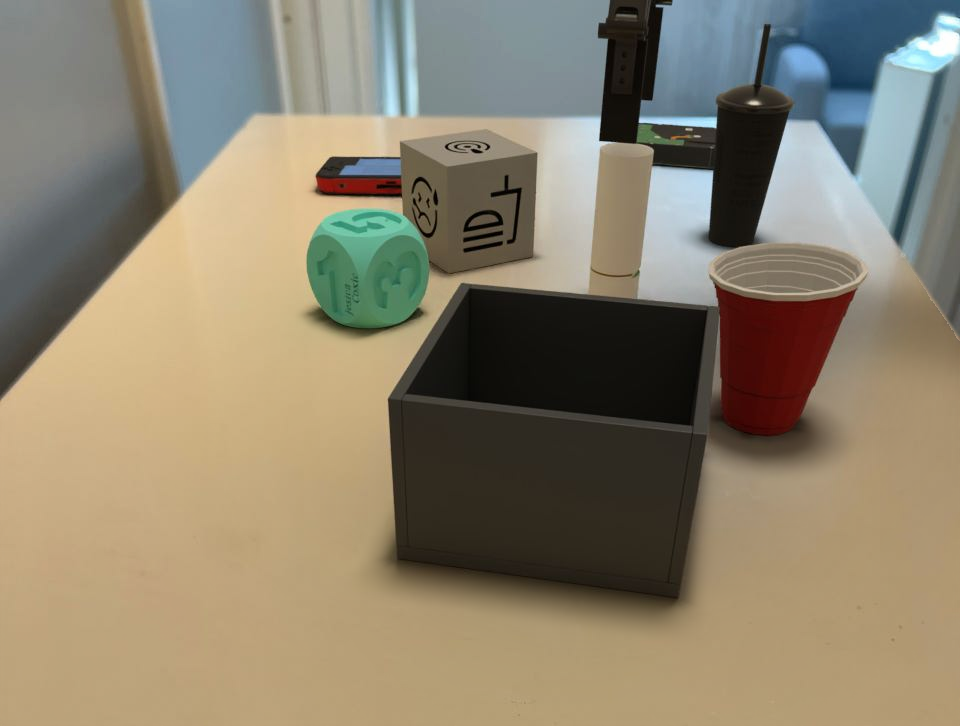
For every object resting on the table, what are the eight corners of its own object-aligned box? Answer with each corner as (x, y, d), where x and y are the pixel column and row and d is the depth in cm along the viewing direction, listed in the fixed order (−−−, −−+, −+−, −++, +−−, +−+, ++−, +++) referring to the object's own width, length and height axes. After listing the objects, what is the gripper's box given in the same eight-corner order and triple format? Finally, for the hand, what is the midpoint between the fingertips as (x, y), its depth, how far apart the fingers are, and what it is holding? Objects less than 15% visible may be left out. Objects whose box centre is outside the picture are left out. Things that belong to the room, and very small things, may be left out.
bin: (695, 453, 72) (720, 306, 65) (678, 598, 59) (707, 434, 52) (461, 426, 75) (460, 282, 68) (396, 558, 62) (387, 398, 55)
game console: (442, 167, 127) (441, 148, 125) (434, 198, 117) (434, 178, 116) (330, 164, 127) (328, 146, 126) (313, 195, 118) (311, 175, 116)
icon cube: (533, 256, 103) (537, 152, 96) (448, 273, 99) (446, 166, 92) (485, 228, 109) (486, 128, 103) (404, 243, 105) (399, 141, 99)
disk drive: (734, 151, 134) (625, 142, 136) (738, 128, 132) (627, 119, 135) (732, 172, 126) (616, 162, 129) (736, 149, 125) (619, 139, 127)
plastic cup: (700, 376, 82) (725, 227, 74) (835, 399, 79) (875, 246, 71) (670, 436, 74) (694, 276, 66) (818, 464, 71) (861, 300, 63)
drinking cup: (752, 256, 103) (794, 35, 90) (684, 242, 106) (715, 26, 93) (777, 235, 108) (819, 22, 95) (711, 223, 111) (743, 14, 98)
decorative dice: (309, 311, 91) (300, 221, 86) (375, 288, 96) (370, 201, 91) (365, 337, 87) (359, 244, 82) (432, 311, 92) (429, 222, 86)
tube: (605, 344, 86) (623, 160, 77) (575, 327, 89) (589, 147, 79) (643, 333, 88) (664, 152, 79) (612, 317, 91) (630, 139, 81)
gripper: (627, -241, 73) (600, 81, 87) (580, -253, 55) (554, 158, 69) (730, -240, 72) (685, 86, 86) (717, -251, 54) (663, 167, 68)
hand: (627, 119), depth 77 cm, fingers open, 13 cm apart
